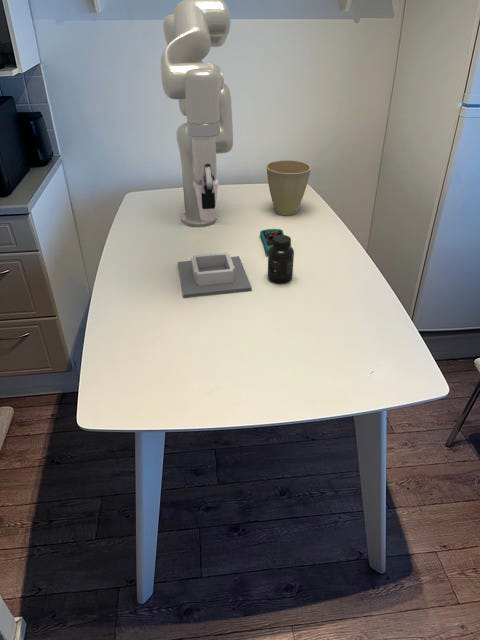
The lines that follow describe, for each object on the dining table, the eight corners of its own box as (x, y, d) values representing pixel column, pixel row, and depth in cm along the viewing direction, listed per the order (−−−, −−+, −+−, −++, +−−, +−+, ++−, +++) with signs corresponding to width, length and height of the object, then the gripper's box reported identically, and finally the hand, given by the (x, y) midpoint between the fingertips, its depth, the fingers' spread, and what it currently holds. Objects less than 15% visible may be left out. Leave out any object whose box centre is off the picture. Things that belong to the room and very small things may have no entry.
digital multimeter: (281, 235, 158) (282, 227, 156) (290, 256, 146) (291, 247, 144) (259, 236, 157) (259, 228, 156) (266, 258, 145) (266, 249, 144)
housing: (177, 264, 141) (176, 250, 138) (239, 259, 144) (238, 245, 141) (183, 297, 127) (182, 282, 124) (251, 290, 129) (251, 276, 127)
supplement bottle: (262, 278, 135) (263, 238, 128) (278, 269, 139) (279, 230, 132) (281, 287, 131) (283, 246, 124) (297, 277, 135) (300, 238, 128)
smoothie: (200, 225, 122) (198, 169, 114) (191, 215, 126) (187, 161, 118) (224, 220, 124) (222, 165, 116) (213, 211, 129) (211, 157, 121)
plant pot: (309, 219, 167) (313, 173, 158) (265, 219, 167) (267, 173, 158) (305, 203, 179) (308, 159, 170) (264, 203, 179) (265, 159, 170)
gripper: (184, 120, 119) (189, 192, 130) (190, 139, 105) (195, 218, 116) (214, 119, 120) (217, 190, 131) (225, 137, 106) (226, 215, 117)
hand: (207, 202), depth 123 cm, fingers closed on smoothie, 5 cm apart
